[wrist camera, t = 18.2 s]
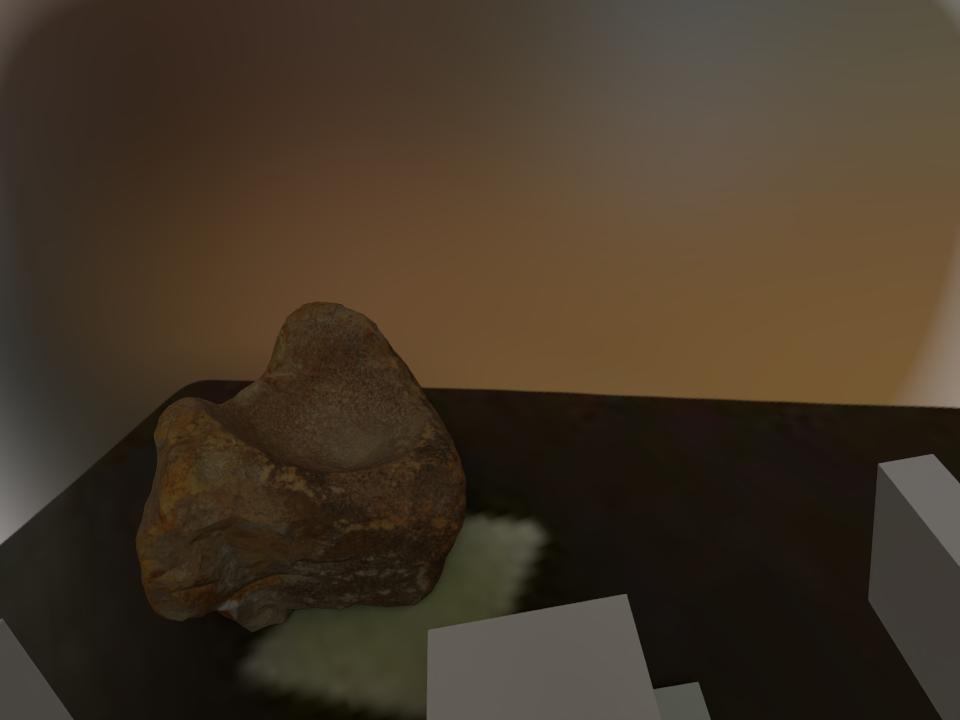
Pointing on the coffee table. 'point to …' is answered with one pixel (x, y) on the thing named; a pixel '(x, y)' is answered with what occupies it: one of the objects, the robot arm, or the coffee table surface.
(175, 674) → the coffee table surface
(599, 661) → the white box
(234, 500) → the rough brown rock
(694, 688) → the mat
